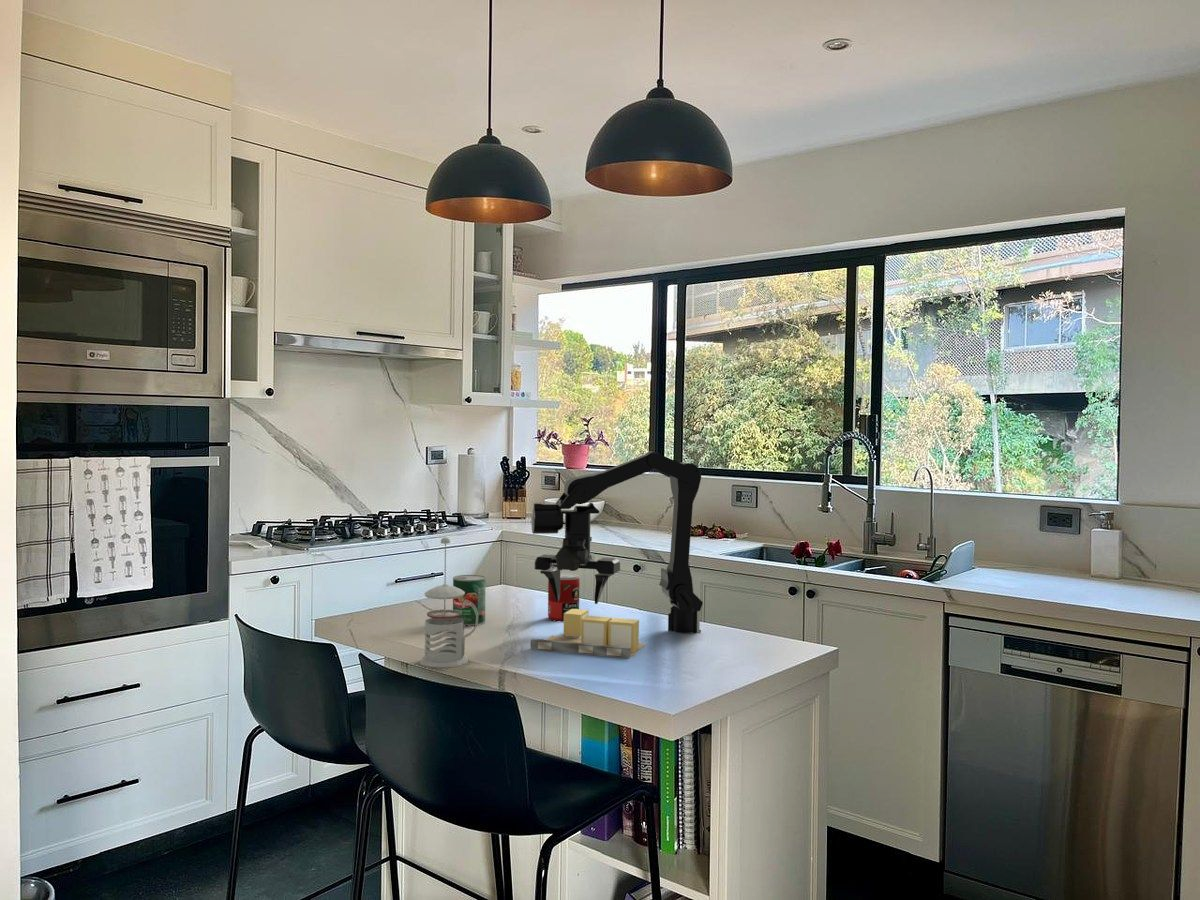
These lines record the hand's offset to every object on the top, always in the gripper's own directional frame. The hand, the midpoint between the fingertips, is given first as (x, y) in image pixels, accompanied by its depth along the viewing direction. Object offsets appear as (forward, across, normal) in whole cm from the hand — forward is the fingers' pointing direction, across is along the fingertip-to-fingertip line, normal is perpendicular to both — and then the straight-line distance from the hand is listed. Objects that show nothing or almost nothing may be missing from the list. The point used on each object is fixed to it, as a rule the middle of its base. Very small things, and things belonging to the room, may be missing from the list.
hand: (576, 602), depth 200 cm
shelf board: (+8, +6, -11) cm, 15 cm away
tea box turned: (+8, 0, 0) cm, 8 cm away
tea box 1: (+7, +8, -10) cm, 15 cm away
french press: (+8, -18, -28) cm, 34 cm away
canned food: (+8, -10, +18) cm, 22 cm away
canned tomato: (+8, -30, +6) cm, 31 cm away
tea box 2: (+7, +14, -10) cm, 19 cm away
